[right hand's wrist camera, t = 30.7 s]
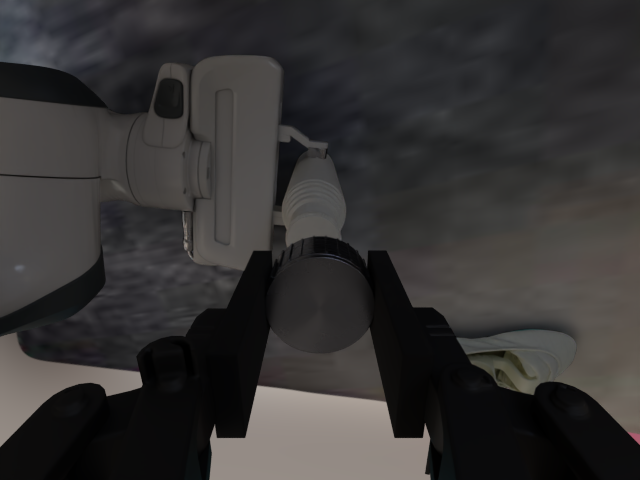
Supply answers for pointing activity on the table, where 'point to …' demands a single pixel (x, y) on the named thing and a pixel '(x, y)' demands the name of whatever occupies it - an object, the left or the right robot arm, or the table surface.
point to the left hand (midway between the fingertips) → (323, 180)
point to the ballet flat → (522, 357)
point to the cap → (319, 295)
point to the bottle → (313, 201)
